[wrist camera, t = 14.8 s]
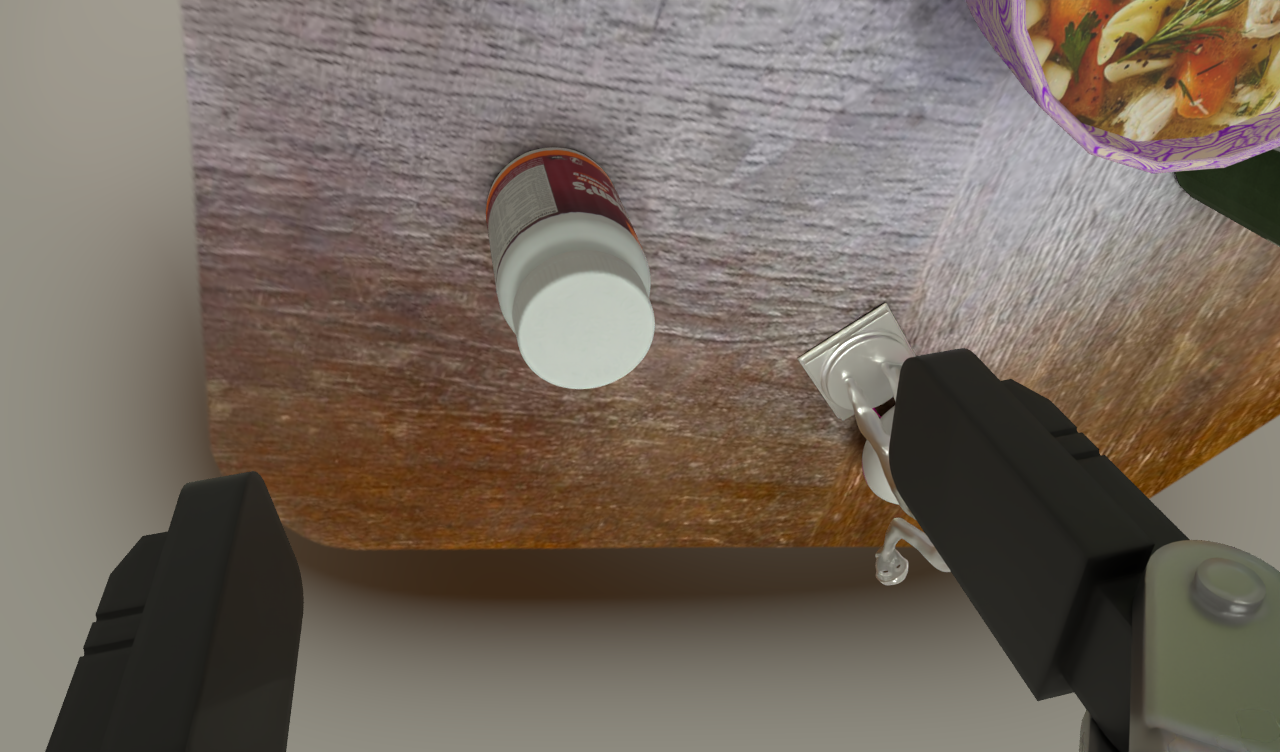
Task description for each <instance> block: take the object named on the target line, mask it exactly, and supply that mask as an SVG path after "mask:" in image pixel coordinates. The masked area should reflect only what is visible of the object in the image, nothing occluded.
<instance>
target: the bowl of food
mask: <svg viewBox="0 0 1280 752" xmlns="http://www.w3.org/2000/svg"><path fill="white" fill-rule="evenodd" d="M966 3H967V5H968V7H969V10H970V12H971V14H972V16H973V17H974V19H975V21H976V23H977V24H978V26H979V28H980V30H981V31H982V33H983V34H984V36H985V37H986V38H987V40H988V41H989V43H990V44H991V45H992V47H993V48H994V49H995V51H996V52H997V53H998V55H999V56H1000V57H1001V58H1002V60H1003V61H1004V62H1005V63H1006V64H1007V66H1008V67H1009V68H1010V69H1011V71H1012V72H1013V73H1014V75H1015V76H1016V77H1017V79H1018V80H1019V81H1020V83H1021V84H1022V85H1023V87H1024V88H1025V89H1026V91H1027V92H1028V93H1029V94H1030V95H1031V97H1032V98H1033V99H1034V100H1035V101H1036V103H1037V104H1038V105H1039V106H1040V107H1041V108H1042V109H1043V110H1044V111H1045V112H1046V113H1047V114H1048V115H1049V116H1050V117H1051V118H1052V119H1053V120H1054V121H1055V122H1056V123H1057V124H1058V125H1060V126H1061V127H1062V128H1063V129H1064V130H1065V131H1066V132H1067V133H1068V134H1069V135H1070V136H1071V137H1072V138H1073V139H1074V140H1075V141H1076V142H1077V143H1079V144H1080V145H1081V146H1082V147H1083V148H1084V149H1085V150H1086V151H1087V152H1088V153H1089V154H1091V155H1095V156H1098V157H1101V158H1104V159H1108V160H1111V161H1114V162H1117V163H1120V164H1124V165H1127V166H1130V167H1133V168H1137V169H1140V170H1143V171H1146V172H1149V173H1165V172H1178V171H1190V170H1202V169H1214V168H1225V167H1227V166H1230V165H1233V164H1235V163H1238V162H1241V161H1243V160H1246V159H1248V158H1251V157H1254V156H1256V155H1259V154H1261V153H1264V152H1267V151H1269V150H1272V149H1274V148H1277V147H1280V0H966Z"/></svg>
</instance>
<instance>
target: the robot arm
mask: <svg viewBox="0 0 1280 752" xmlns="http://www.w3.org/2000/svg"><path fill="white" fill-rule="evenodd" d="M889 464H890V470H891V474H892V478H893V481H894V484H895V486H896V488H897V491H898V493H899V494H900V496H901V498H902V499H903V501H904V502H905V504H906V505H907V507H908V508H909V510H910V511H911V513H912V514H913V516H914V517H915V519H916V520H917V522H918V523H919V525H920V526H921V527H922V529H923V530H924V532H925V533H926V535H927V536H928V538H929V539H930V541H931V542H932V544H933V545H934V547H935V548H936V550H937V551H938V553H939V554H940V556H941V557H942V559H943V560H944V562H945V563H946V565H947V566H948V568H949V569H950V571H951V572H952V574H953V575H954V577H955V578H956V580H957V581H958V583H959V584H960V586H961V587H962V589H963V590H964V592H965V593H966V595H967V596H968V597H969V599H970V601H971V602H972V604H973V605H974V607H975V608H976V610H977V611H978V613H979V614H980V616H981V617H982V619H983V620H984V622H985V623H986V625H987V626H988V627H989V629H990V631H991V632H992V634H993V635H994V637H995V638H996V639H997V641H998V643H999V644H1000V646H1001V647H1002V648H1003V650H1004V652H1005V653H1006V655H1007V656H1008V658H1009V659H1010V661H1011V662H1012V664H1013V665H1014V666H1015V668H1016V670H1017V671H1018V673H1019V674H1020V676H1021V677H1022V679H1023V680H1024V682H1025V683H1026V684H1027V686H1028V688H1029V689H1030V690H1031V692H1032V693H1033V695H1034V696H1035V698H1036V699H1037V701H1040V700H1044V699H1048V698H1052V697H1056V696H1061V695H1065V694H1069V693H1072V692H1075V694H1076V695H1077V697H1078V698H1079V699H1080V701H1081V702H1082V703H1083V705H1084V706H1085V708H1086V709H1087V710H1086V712H1085V715H1084V717H1083V720H1082V725H1081V731H1080V746H1079V747H1080V748H1079V752H1280V572H1279V571H1278V570H1276V569H1275V568H1274V567H1272V566H1271V565H1269V564H1268V563H1266V562H1264V561H1263V560H1261V559H1259V558H1257V557H1255V556H1253V555H1251V554H1250V553H1247V552H1245V551H1242V550H1240V549H1237V548H1235V547H1231V546H1228V545H1225V544H1221V543H1216V542H1210V541H1202V540H1189V539H1188V538H1187V537H1186V536H1185V535H1184V534H1183V533H1182V532H1181V531H1180V530H1179V529H1178V528H1177V527H1176V526H1175V525H1174V524H1173V523H1172V522H1171V521H1170V520H1169V519H1168V518H1167V517H1166V516H1165V515H1164V514H1163V513H1162V512H1161V511H1160V510H1159V509H1158V508H1157V507H1156V506H1155V505H1154V504H1153V503H1152V502H1151V501H1150V500H1149V499H1148V498H1147V497H1146V496H1145V495H1144V494H1143V493H1142V492H1141V491H1140V490H1139V489H1138V488H1137V487H1136V486H1135V485H1134V484H1133V483H1132V482H1131V481H1130V480H1129V479H1128V478H1127V477H1126V476H1125V475H1124V474H1123V473H1122V472H1121V471H1120V470H1119V469H1118V468H1117V467H1116V466H1115V465H1114V464H1113V463H1112V462H1111V461H1110V460H1109V459H1108V458H1107V457H1106V456H1105V455H1103V456H1101V455H1100V454H1099V449H1098V448H1097V447H1096V446H1095V445H1094V444H1093V443H1092V442H1091V441H1090V440H1089V439H1088V438H1087V437H1086V436H1085V435H1084V434H1083V433H1078V432H1077V427H1076V426H1075V425H1074V424H1073V423H1072V422H1071V421H1070V420H1069V419H1068V418H1067V417H1066V416H1065V415H1064V414H1063V413H1062V412H1061V411H1060V410H1059V409H1058V408H1057V407H1056V406H1055V405H1054V404H1053V403H1052V402H1051V401H1050V400H1049V399H1047V398H1045V397H1043V396H1041V395H1039V394H1038V393H1036V392H1034V391H1032V390H1030V389H1028V388H1027V387H1025V386H1023V385H1021V384H1019V383H1017V382H1016V381H1014V380H1012V379H1009V380H1004V381H1000V380H999V379H998V378H997V377H996V376H995V375H994V374H993V373H992V372H991V371H990V370H989V369H988V368H987V367H986V365H985V364H984V363H983V362H982V361H981V360H980V359H979V358H978V357H977V356H976V355H975V354H974V353H973V352H972V351H970V350H968V349H965V348H961V349H955V350H949V351H944V352H938V353H932V354H927V355H921V356H915V357H910V358H908V359H906V360H905V361H904V363H903V365H902V367H901V370H900V375H899V382H898V389H897V396H896V403H895V409H894V416H893V423H892V430H891V437H890V443H889ZM303 603H304V602H303V587H302V580H301V574H300V570H299V566H298V563H297V560H296V557H295V555H294V553H293V550H292V548H291V545H290V543H289V541H288V538H287V536H286V533H285V531H284V528H283V526H282V523H281V521H280V519H279V516H278V514H277V511H276V509H275V506H274V504H273V502H272V499H271V497H270V494H269V492H268V490H267V487H266V485H265V483H264V481H263V479H262V477H261V476H260V475H259V474H258V473H257V472H255V471H252V472H246V473H241V474H235V475H229V476H224V477H218V478H212V479H207V480H201V481H195V482H190V483H187V484H186V485H184V487H183V488H182V490H181V493H180V495H179V498H178V501H177V505H176V508H175V511H174V514H173V518H172V521H171V524H170V527H169V530H168V532H163V533H158V534H152V535H146V536H142V538H141V539H140V540H139V541H138V542H137V543H136V545H135V546H134V547H133V548H132V549H131V550H130V552H129V553H128V554H127V555H126V556H125V558H124V559H123V560H122V561H121V562H120V564H119V565H118V566H117V567H116V568H115V569H114V571H113V572H112V573H111V574H110V577H109V579H108V582H107V585H106V587H105V590H104V593H103V596H102V598H101V601H100V604H99V607H98V609H97V612H96V618H97V621H96V622H94V623H92V626H91V628H90V631H89V634H88V637H87V640H86V642H85V645H84V648H83V649H84V656H83V657H80V658H79V661H78V664H77V667H76V669H75V672H74V675H73V678H72V680H71V683H70V686H69V689H68V691H67V694H66V697H65V699H64V702H63V705H62V708H61V710H60V713H59V716H58V719H57V722H56V724H55V727H54V730H53V732H52V735H51V738H50V740H49V743H48V746H47V749H46V751H45V752H286V747H287V739H288V731H289V723H290V714H291V707H292V698H293V691H294V681H295V674H296V666H297V658H298V649H299V642H300V634H301V626H302V618H303Z"/></svg>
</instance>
